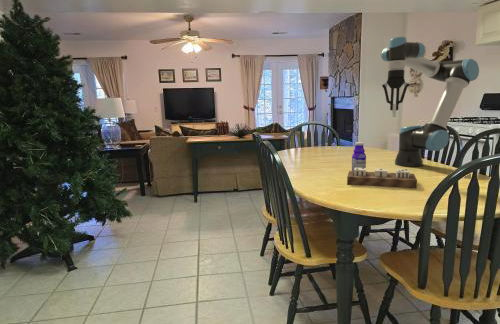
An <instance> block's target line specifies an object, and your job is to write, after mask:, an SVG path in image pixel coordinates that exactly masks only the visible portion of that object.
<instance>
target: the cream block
mask: <svg viewBox="0 0 500 324" xmlns="http://www.w3.org/2000/svg"><path fill="white" fill-rule="evenodd" d="M374 172H375V177H387V173H388V169H387V168H378V167H377V168H376V167H375V168H374Z"/></svg>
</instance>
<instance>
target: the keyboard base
mask: <svg viewBox="0 0 500 324" xmlns="http://www.w3.org/2000/svg"><path fill="white" fill-rule="evenodd" d="M346 184H347V186H358V187H359V186H363V187H377V188H378V187H379V188H392V189H393V188H395V189H409V190H411V189H412V190H417V189H418V188H417V187H418V179H417V177H416V175H415V173H410V175H409V178H396V172H387V177H375V171H366V176H355V175H354V171H352V170H349V171H348V173H347V178H346Z"/></svg>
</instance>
